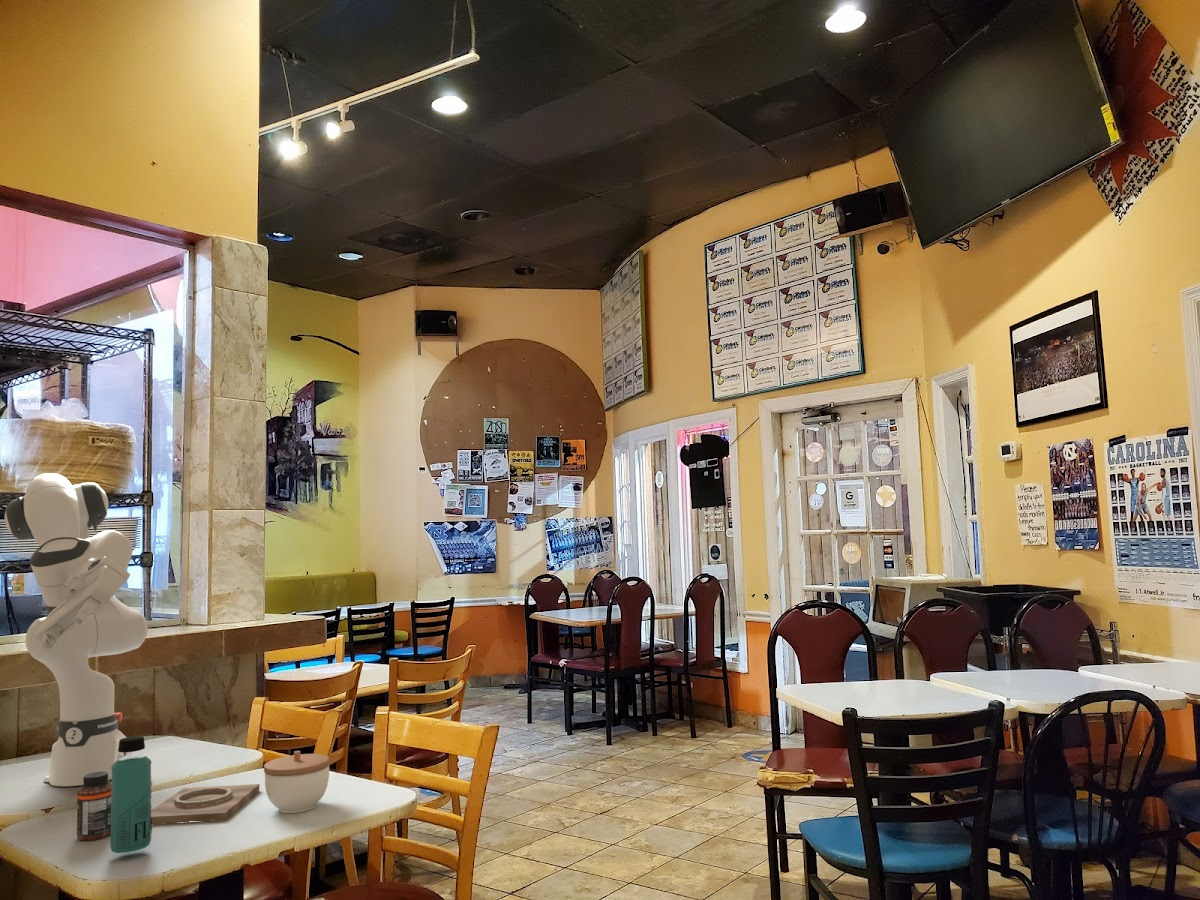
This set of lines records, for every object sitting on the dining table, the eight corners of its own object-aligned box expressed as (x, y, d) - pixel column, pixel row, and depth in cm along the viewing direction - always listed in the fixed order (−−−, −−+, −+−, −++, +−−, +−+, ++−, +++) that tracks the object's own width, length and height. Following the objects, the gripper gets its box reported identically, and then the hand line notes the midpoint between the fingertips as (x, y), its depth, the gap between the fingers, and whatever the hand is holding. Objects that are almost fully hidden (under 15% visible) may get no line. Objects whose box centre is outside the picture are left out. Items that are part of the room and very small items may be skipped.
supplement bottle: (78, 834, 164) (80, 772, 166) (114, 829, 167) (115, 768, 168) (73, 844, 159) (75, 779, 160) (111, 838, 161) (112, 775, 162)
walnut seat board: (183, 795, 188) (183, 783, 188) (259, 791, 189) (259, 779, 189) (140, 825, 168) (140, 812, 168) (225, 820, 169) (225, 807, 169)
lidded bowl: (266, 822, 168) (266, 762, 169) (261, 805, 179) (261, 749, 180) (334, 810, 173) (334, 753, 174) (325, 795, 184) (325, 741, 185)
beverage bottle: (133, 863, 148) (135, 741, 150) (99, 861, 149) (101, 741, 151) (160, 849, 154) (161, 733, 156) (127, 848, 156) (129, 733, 158)
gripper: (42, 605, 180) (12, 652, 168) (109, 551, 175) (83, 596, 163) (69, 623, 182) (41, 670, 171) (136, 570, 178) (112, 615, 166)
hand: (62, 633), depth 167 cm, fingers open, 8 cm apart
